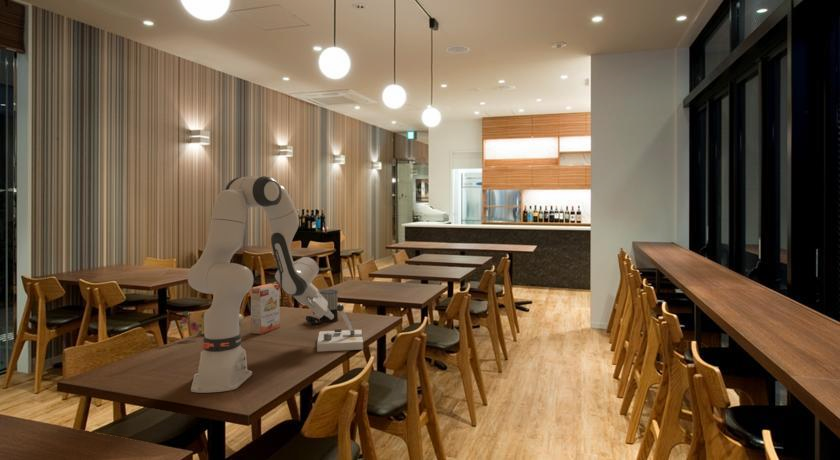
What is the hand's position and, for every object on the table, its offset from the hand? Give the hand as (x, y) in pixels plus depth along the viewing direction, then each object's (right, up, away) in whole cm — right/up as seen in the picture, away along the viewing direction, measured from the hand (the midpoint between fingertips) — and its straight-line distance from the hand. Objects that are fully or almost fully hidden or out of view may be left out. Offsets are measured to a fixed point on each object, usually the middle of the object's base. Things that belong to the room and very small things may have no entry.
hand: (332, 317), depth 215 cm
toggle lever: (+8, -6, +1) cm, 10 cm away
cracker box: (-35, -10, +24) cm, 43 cm away
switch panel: (+3, -11, +1) cm, 11 cm away
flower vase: (-58, -10, +23) cm, 63 cm away
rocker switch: (+1, -7, +5) cm, 8 cm away
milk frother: (-12, -9, +40) cm, 42 cm away
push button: (-1, -8, -4) cm, 9 cm away
